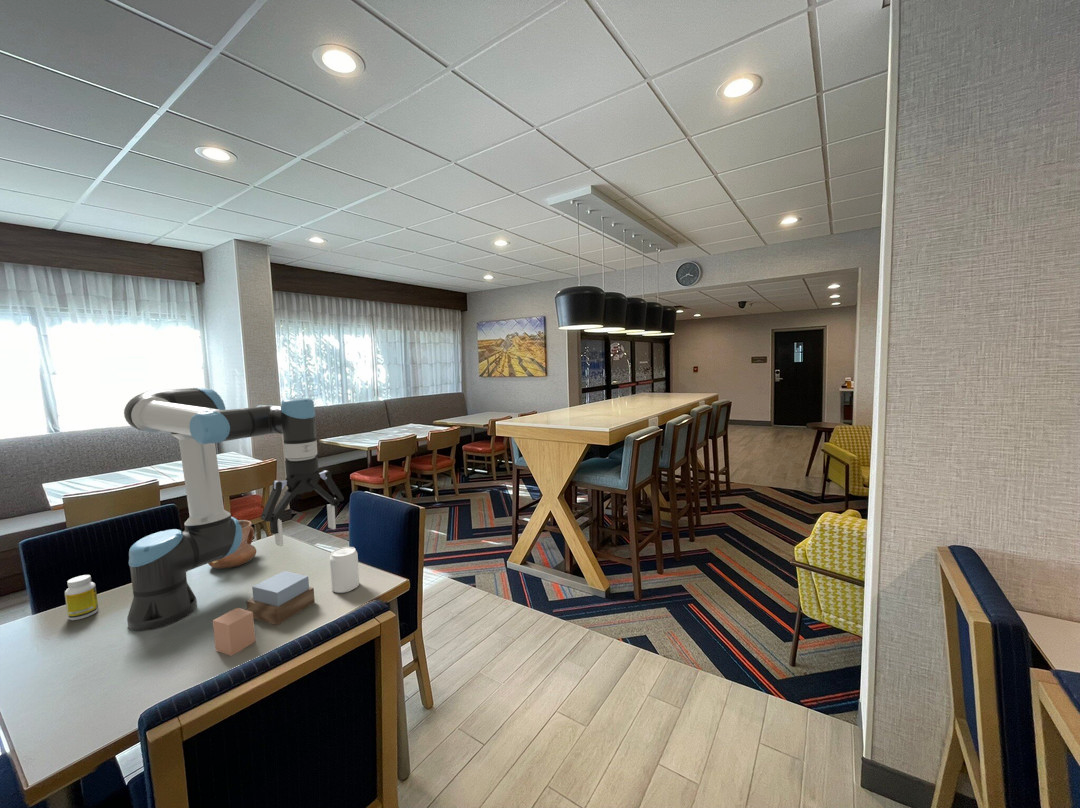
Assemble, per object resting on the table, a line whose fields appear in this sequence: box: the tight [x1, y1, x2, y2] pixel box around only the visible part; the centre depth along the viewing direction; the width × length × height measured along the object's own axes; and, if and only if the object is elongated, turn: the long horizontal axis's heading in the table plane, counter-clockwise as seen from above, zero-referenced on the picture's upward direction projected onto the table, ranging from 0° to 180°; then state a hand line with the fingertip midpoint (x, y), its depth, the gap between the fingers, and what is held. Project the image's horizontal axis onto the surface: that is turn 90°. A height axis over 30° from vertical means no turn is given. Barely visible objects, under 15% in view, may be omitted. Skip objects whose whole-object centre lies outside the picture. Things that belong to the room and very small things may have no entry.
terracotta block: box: [212, 607, 256, 657], centre depth 111 cm, size 6×6×8 cm
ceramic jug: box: [208, 519, 257, 570], centre depth 158 cm, size 18×14×14 cm
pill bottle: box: [64, 574, 99, 621], centre depth 126 cm, size 6×6×11 cm
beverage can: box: [329, 546, 360, 594], centre depth 139 cm, size 8×8×12 cm
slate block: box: [251, 570, 310, 606], centre depth 127 cm, size 10×10×4 cm
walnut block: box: [246, 586, 316, 626], centre depth 127 cm, size 12×12×5 cm
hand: (306, 536), depth 116 cm, fingers open, 13 cm apart
